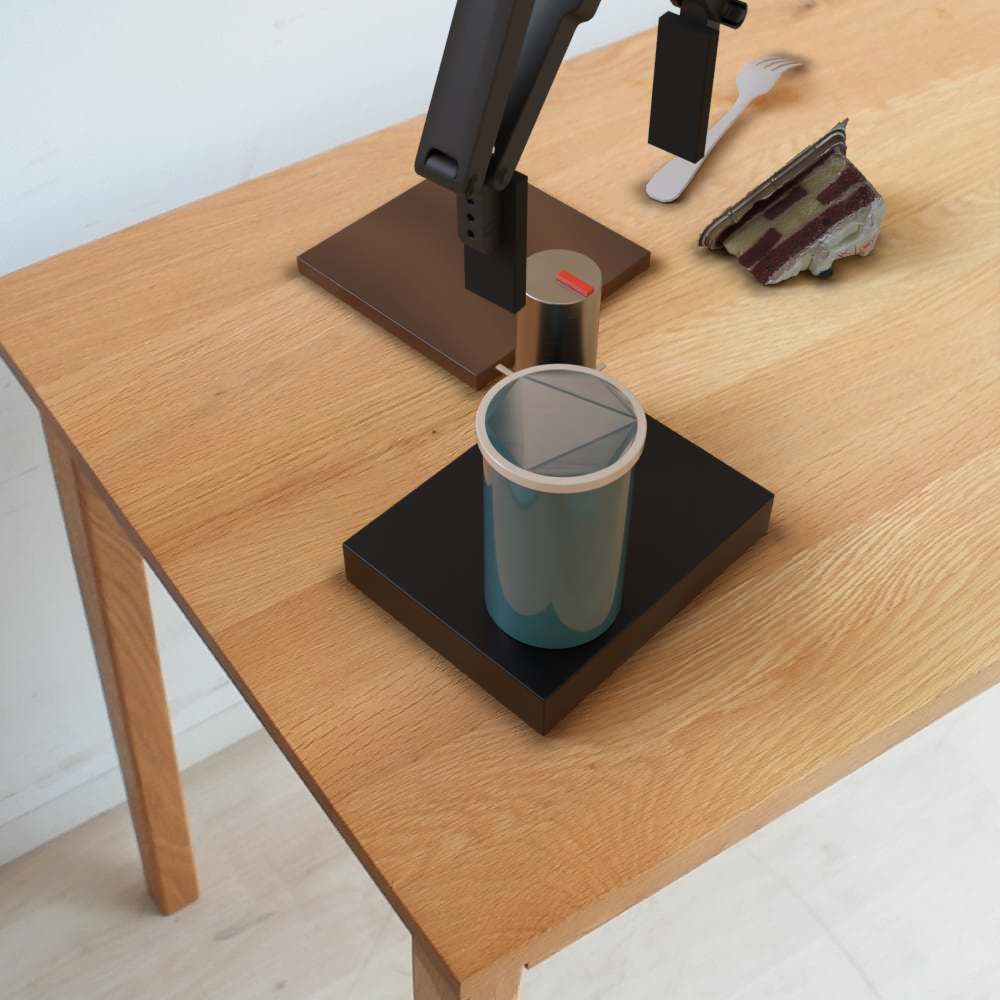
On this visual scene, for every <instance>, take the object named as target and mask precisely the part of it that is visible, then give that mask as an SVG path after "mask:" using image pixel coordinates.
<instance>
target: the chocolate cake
mask: <svg viewBox="0 0 1000 1000" xmlns="http://www.w3.org/2000/svg"><path fill="white" fill-rule="evenodd" d="M849 120H850V119H849V117H846V118H844V119H843V120H842V121H839V122H838V123H836V124H835V125H834V126H833V127H832V128H831V129H830V130H829V131H827V132H826V133H825V134H824V135H823V136H820V137H819V138H818V140H816V141H814V142H813V143H812V144H809V145H808V146H806V147H805V148H804V149H803V150H801V151H800V152H798V153H797V154H796V155H795V156H794V157H793V158H791V159H790V160H788V161H787V162H786V163H785V164H784V165H783V166H782V167H780V168H779V169H778V170H777V171H774V172H773V174H772V175H770V176H769V177H767V178H766V180H764V181H762V182H761V183H759V184H758V185H756V186H755V187H754V188H753V189H751V190H750V191H748V192H747V193H746V194H745V196H744V197H742V198H741V199H740V200H739V201H737V202H736V203H735V204H734V205H733V206H732V205H730V206H728V207H726V208H725V210H723V211H722V212H721V213H720V214H719V215H718V216H716V217H713V218H712V219H711V220H712V221H710V222H709V224H707V225H706V226H704V229H703V230H702V232H701V233H699V234H698V235H699V236H698V239H697V247H699V248H702V247H707V248H709V249H711V250H714V251H717V250H719V249H723V248H725V249H726V251H727V252H728V253H729V254H730V255H732V256H734V257H735V258H736V259H737V261H738V263H739V264H740V265H741V266H742V267H744V268H745V269H746V271H748V272H749V273H750V274H752V276H753V277H754V278H755V280H757V282H759V283H760V284H762V285H764V286H767V285H775V284H777V283H780V282H781V281H784V280H788V279H790V278H791V277H796V276H797V275H799V273H800V272H801V271H806V270H808V271H810V273H811V274H812V275H813V276H818V277H819V278H821V279H823V280H828V279H830V278H831V277H832V276H833V275H834V271H833V269H832V265H833V262H834V261H835V260H840V259H841V258H845V257H850V256H853V255H854V256H855V255H859V256H860V257H867V256H869V254H870V252H871V251H873V249H874V248H875V247H876V241H877V239H878V237H879V234H880V233H881V226H882V223H883V222H884V220H885V216H886V208H887V207H886V206H887V205H886V201H885V199H884V197H883V195H881V194H880V193H879V192H878V190H877V189H876V188H875V186H874V185H873V183H871V181H870V180H868V178H867V177H866V176H865V175H864V174H863V173H862V172H861V171H860V169H858V167H857V166H856V165H855V164H854V163H853V162H852V161H851V160H850V159H849V158H848V157H847V150H848V146H847V143H846V141H847V133H846V129H847V126H848V122H849Z"/></svg>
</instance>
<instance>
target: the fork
mask: <svg viewBox="0 0 1000 1000" xmlns="http://www.w3.org/2000/svg"><path fill="white" fill-rule="evenodd" d="M801 66H803V63H802V62H800V63H797V62H796V61H795V60H790V59H789V58H783V57H782V56H765V57H759V58H756V59H754V60H751V61H749V62H748V63H746V64H745V65H744V66H743V67H742V68H741V70H740V71H739V72H738V74H737V76H736V78H735V84H736V87H737V88H738V89H737V90H738V97H737V99H736V100H735V102H734V104H733V105H732V107H730V109H729V110H728V111H727V112H726V114H724V115H723V117H721V119H720V120H719V121H718V122H716V123H715V125H713V126H712V127H711V128H710V129H708V130H707V138H706V146H705V154H704V157H703V158H702V159H701V160H700V161H699V162H697V163H696V164H694V163H691V162H689V161H687V160H685V159H682V158H680V157H678V156H675V157H674V158H673V159H671V160H670V161H668V162H667V163H666V164H665V165H664V166H663V167H662V168H660V169H659V170H658V171H657V172H656V173H655V174H654V175H653V177H651V179H650V180H649V182H648V183H647V184H646V185H645V192H646V193H647V196H649V198H650V199H653V200H656V201H658V202H661V203H669V202H672V201H674V200H676V199H678V198H679V197H680V196H681V195H682V193H683V192H684V191H685V190H686V188H687V186H688V185H690V182H691V181H692V180H693V178H694V177H695V175H696V174H697V172H698V171H699V169H700V168H701V166H702V165H703V163H704V162H705V160H706V158H707V157H708V155H709V154H710V152H711V151H712V149H713V148H714V147H715V145H716V144H717V143H718V142H719V141H720V139H721V138H722V137H723V136H724V134H725V133H726V132H727V131H728V130H729V129H730V128H731V126H732V125H733V124H734V123H735V121H736V120H737V119H739V117H740V116H741V114H743V112H744V111H745V110H746V108H747V107H748V105H749V104H750V103H751V101H752V100H754V99H755V98H757V97H758V96H761V95H765V94H767V93H768V92H769V91H771V89H772V88H773V87H774V86H775V84H776V83H777V81H778V80H779V79H780V78H781V76H782V74H784V73H785V72H787V71H788V70H791V69H793V68H797V67H801Z"/></svg>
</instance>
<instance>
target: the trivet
mask: <svg viewBox="0 0 1000 1000" xmlns="http://www.w3.org/2000/svg"><path fill="white" fill-rule="evenodd" d="M457 215H458V214H457V198H456V193H454V192H452V191H450V190H448V189H446V188H444V187H442V186H440V185H438V184H436V183H434V182H432V181H430V180H428V179H426V178H424V179H423V180H422V181H420V182H418V183H417V184H415V185H413V186H412V187H410V188H408V189H407V190H405V191H404V192H402V193H400V194H399V195H397V196H396V197H393V198H392V199H390V200H388V201H387V202H385V203H383V204H382V205H380V206H378V207H377V208H375V209H374V210H372V211H370V212H368V213H366V214H365V215H364V216H362V217H360V218H359V219H357V220H355V221H353V222H352V223H350V224H349V225H347V226H346V227H344V228H342V229H340V230H339V231H337V232H336V233H333V234H332V235H330V236H328V237H327V238H326V239H324V240H322V241H321V242H319V243H317V244H316V245H313V246H312V247H310V248H309V249H307V250H306V251H304V252H301V254H298V255H297V256H296V262H297V263H296V265H297V271H298V273H300V274H301V275H303V276H304V277H306V278H307V279H309V280H310V281H311V282H313V283H315V284H316V285H318V286H319V287H321V288H322V289H324V290H325V291H326V292H328V293H330V294H331V295H333V296H335V297H336V298H337V299H339V300H340V301H342V302H343V303H345V304H346V305H348V306H349V307H351V308H352V309H354V310H355V311H357V312H359V314H361V315H363V316H364V317H366V318H368V319H369V320H370V321H372V322H374V323H375V324H376V325H378V326H379V327H381V328H383V329H384V330H386V331H387V332H388V333H390V334H391V335H393V336H394V337H396V338H398V339H399V340H400V341H402V342H403V343H405V344H406V345H408V346H409V347H411V348H412V349H414V350H415V351H417V352H419V354H421V355H423V356H424V357H425V358H427V359H429V360H430V361H432V362H433V363H435V364H436V365H437V366H439V367H441V368H443V369H444V370H445V371H447V372H448V373H450V374H451V375H453V376H454V377H455V378H458V379H459V380H461V381H462V382H463V383H465V384H466V385H468V386H469V387H471V388H472V389H474V390H475V391H479V390H480V389H481V388H483V387H484V386H485V385H486V384H488V383H489V382H491V381H492V380H494V379H495V378H497V377H498V376H499V375H500V374H503V373H502V372H500V371H499V370H497V369H496V366H497V365H499V364H501V365H503V366H504V367H506V368H507V369H509V368H510V367H511V366H513V365H515V314H513V313H511V312H509V311H507V310H505V309H503V308H501V307H499V306H497V305H496V304H494V303H492V302H490V301H488V300H486V299H484V298H482V297H480V296H478V295H476V294H475V293H473V292H471V291H469V290H467V289H465V273H464V243H462V242H461V241H460V239H459V237H458V234H457V223H458V222H457ZM554 249H562V250H570V251H574V252H578V253H580V254H583V255H585V256H587V257H588V258H590V259H591V260H593V261H594V262H595V263H596V264H597V266H598V267H599V269H600V271H601V274H602V288H601V302H602V301H603V300H605V299H606V298H608V297H609V296H610V295H612V294H614V293H615V292H616V291H617V290H619V289H621V288H622V287H623V286H625V284H627V283H629V282H630V281H632V280H633V279H634V278H635V277H637V276H638V275H640V274H641V273H642V272H644V271H645V270H647V269H648V268H650V266H651V256H652V252H651V250H648V249H646V248H645V247H643V246H641V245H640V244H638V243H636V242H634V241H632V240H631V239H629V238H628V237H626V236H624V235H622V234H620V233H618V232H616V231H615V230H613V229H611V228H610V227H607V226H606V225H604V224H602V223H601V222H599V221H597V220H596V219H593V218H592V217H590V216H588V215H586V214H584V213H583V212H581V211H579V210H578V209H575V208H574V207H572V206H571V205H568V204H567V203H565V202H563V201H562V200H560V199H558V198H556V197H554V196H552V195H550V194H549V193H547V192H546V191H543V190H541V189H540V188H538V187H536V186H535V185H533V184H531V183H529V182H528V205H527V258H528V257H529V256H531V255H533V254H535V253H538V252H541V251H546V250H554Z"/></svg>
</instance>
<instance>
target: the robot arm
mask: <svg viewBox="0 0 1000 1000" xmlns="http://www.w3.org/2000/svg"><path fill="white" fill-rule="evenodd" d="M669 1H670V3H671V4H672V6H674V7H675V8H678V9H679V14H678V13H675V12H673V11H670V10H667V11H666V12H665V13H663V14H662V15H660V16H659V17H658V21H657V34H656V43H655V54H654V67H653V77H652V89H651V91H652V92H651V101H650V111H649V124H648V135H647V144H648V145H650V146H653V147H655V148H657V149H659V150H662V151H664V152H666V153H668V154H671V155H673V156H675V157H676V156H678V157H680V158H682V159H685V160H687V161H689V162H691V163H694V164H696V163H697V162H699V161H700V160H701V159H702V158H703V157H704V154H705V146H706V138H707V132H708V131H709V122H710V112H711V104H712V96H713V89H714V88H713V87H714V80H715V73H716V65H717V57H718V48H719V41H720V33H721V31H720V28H721V25H723V26H725V27H728V28H730V29H732V30H739V29H740V27H742V26H743V23H744V22H745V20H746V18H747V14H748V9H749V5H748V3H747V2H745V1H742V0H669ZM601 2H602V0H456V2H455V7H454V11H453V14H452V18H451V21H450V25H449V29H448V33H447V36H446V41H445V45H444V48H443V52H442V56H441V59H440V64H439V67H438V71H437V76H436V80H435V83H434V87H433V90H432V94H431V98H430V100H429V106H428V109H427V113H426V116H425V122H424V125H423V128H422V132H421V136H420V139H419V143H418V148H417V151H416V155H415V159H414V165H413V169H414V172H415V174H416V175H418V176H419V177H422V178H423V179H428V180H430V181H432V182H434V183H436V184H438V185H440V186H442V187H444V188H446V189H448V190H450V191H452V192H454V193H456V198H457V214H458V215H457V222H458V223H457V234H458V237H459V239H460V241H461V242H462V243H464V273H465V289H467V290H469V291H471V292H473V293H475V294H476V295H478V296H480V297H482V298H484V299H486V300H488V301H490V302H492V303H494V304H496V305H497V306H499V307H501V308H503V309H505V310H507V311H509V312H511V313H513V314H516V313H517V312H518V311H520V310H521V309H522V308H523V307H524V306H526V266H527V205H528V183H529V176H528V175H527V174H524V173H522V172H521V171H518V170H516V169H517V168H518V165H519V162H520V160H521V158H522V156H523V154H524V151H525V149H526V146H527V144H528V142H529V139H530V138H531V135H532V133H533V130H534V128H535V125H536V123H537V121H538V118H539V117H540V114H541V111H542V109H543V107H544V104H545V103H546V100H547V97H548V95H549V93H550V91H551V88H552V86H553V83H554V81H555V79H556V76H557V74H558V72H559V70H560V68H561V65H562V62H563V60H564V58H565V56H566V54H567V52H568V49H569V46H570V44H571V42H572V39H573V37H574V35H575V33H576V31H577V29H578V27H579V25H581V24H583V23H586V22H589V21H591V20H592V19H593V18H594V17H595V15H596V14H597V11H598V9H599V7H600V4H601Z"/></svg>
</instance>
